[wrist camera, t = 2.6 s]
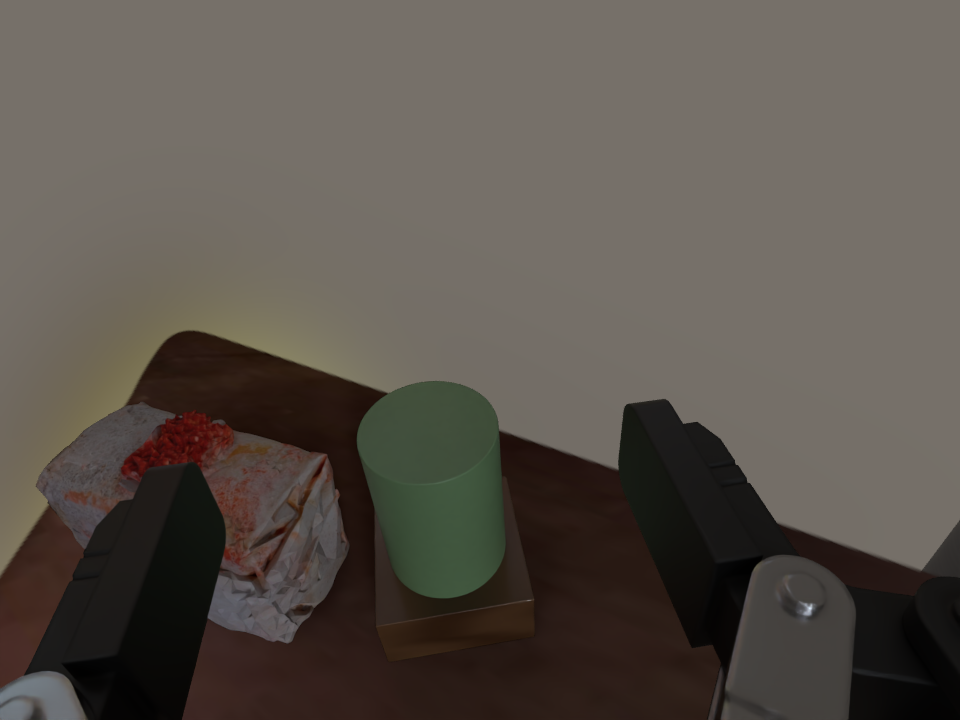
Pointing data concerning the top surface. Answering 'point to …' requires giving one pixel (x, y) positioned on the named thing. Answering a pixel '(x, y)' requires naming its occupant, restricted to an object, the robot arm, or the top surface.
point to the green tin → (436, 485)
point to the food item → (240, 497)
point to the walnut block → (455, 604)
